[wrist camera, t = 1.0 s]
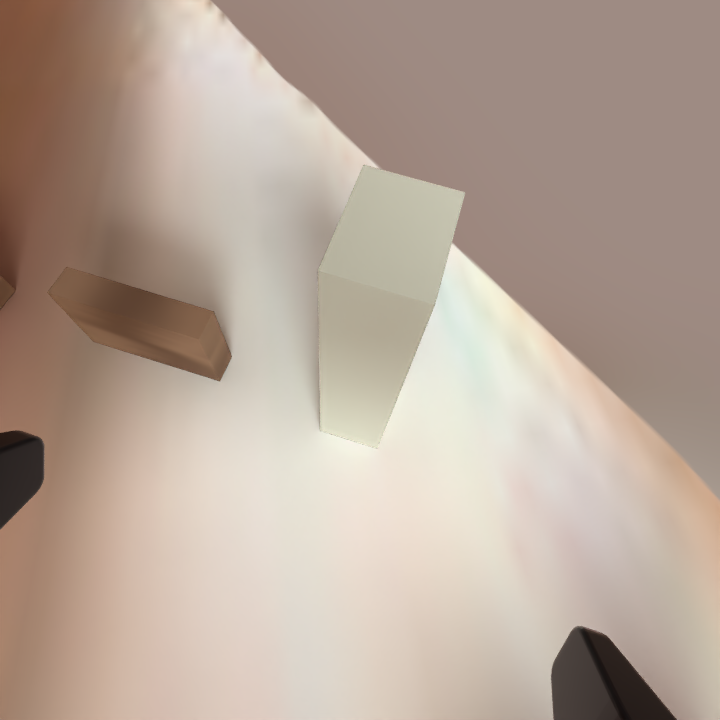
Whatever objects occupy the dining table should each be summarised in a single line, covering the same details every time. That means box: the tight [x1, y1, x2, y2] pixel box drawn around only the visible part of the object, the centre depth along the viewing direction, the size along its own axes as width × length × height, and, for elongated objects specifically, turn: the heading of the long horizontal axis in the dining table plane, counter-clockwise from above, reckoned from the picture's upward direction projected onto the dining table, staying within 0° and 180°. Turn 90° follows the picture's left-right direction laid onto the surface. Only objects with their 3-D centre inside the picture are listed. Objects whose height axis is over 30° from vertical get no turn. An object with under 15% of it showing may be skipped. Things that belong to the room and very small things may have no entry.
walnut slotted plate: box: [0, 267, 232, 381], centre depth 23 cm, size 20×2×4 cm, turn 73°
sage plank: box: [318, 165, 465, 449], centre depth 18 cm, size 4×3×13 cm
